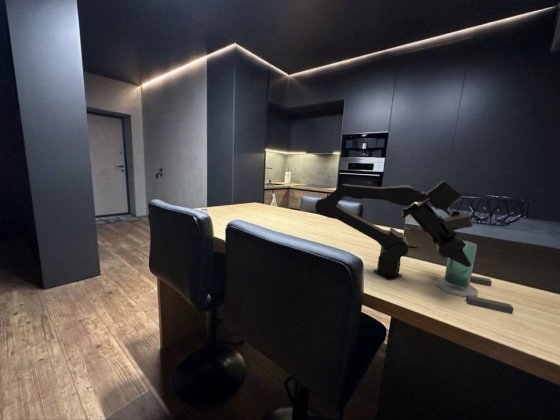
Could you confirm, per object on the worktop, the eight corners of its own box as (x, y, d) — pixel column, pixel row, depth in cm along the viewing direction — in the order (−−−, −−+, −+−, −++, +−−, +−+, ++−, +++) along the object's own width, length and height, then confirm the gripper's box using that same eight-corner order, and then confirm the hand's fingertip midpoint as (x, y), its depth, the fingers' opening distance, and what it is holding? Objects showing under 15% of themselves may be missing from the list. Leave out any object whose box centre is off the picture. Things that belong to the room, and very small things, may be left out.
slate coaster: (463, 300, 64) (463, 298, 64) (428, 283, 73) (428, 281, 73) (485, 293, 68) (486, 291, 68) (449, 277, 77) (450, 276, 77)
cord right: (467, 303, 63) (468, 298, 63) (465, 300, 65) (466, 295, 64) (512, 313, 59) (513, 308, 59) (508, 309, 61) (510, 304, 61)
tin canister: (461, 288, 67) (468, 247, 64) (439, 278, 72) (446, 241, 70) (474, 284, 69) (482, 245, 66) (452, 275, 74) (459, 238, 72)
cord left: (455, 279, 76) (455, 275, 76) (453, 276, 78) (454, 272, 78) (490, 286, 72) (491, 281, 72) (488, 283, 74) (489, 278, 74)
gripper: (462, 208, 59) (510, 258, 57) (448, 198, 76) (485, 237, 73) (421, 233, 64) (464, 281, 62) (416, 219, 80) (449, 256, 78)
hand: (466, 261), depth 68 cm, fingers closed on tin canister, 6 cm apart
